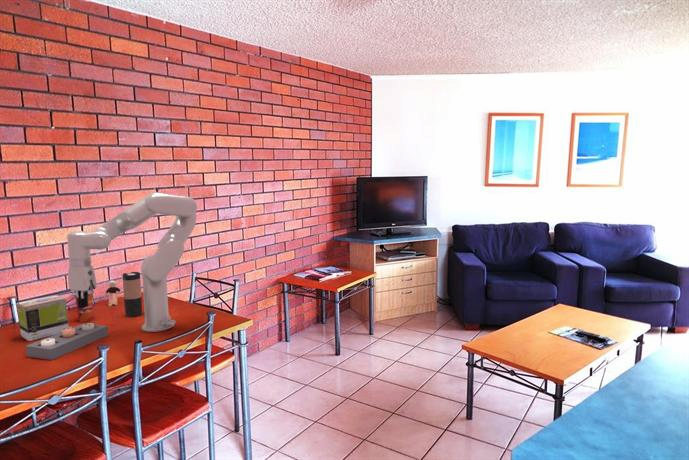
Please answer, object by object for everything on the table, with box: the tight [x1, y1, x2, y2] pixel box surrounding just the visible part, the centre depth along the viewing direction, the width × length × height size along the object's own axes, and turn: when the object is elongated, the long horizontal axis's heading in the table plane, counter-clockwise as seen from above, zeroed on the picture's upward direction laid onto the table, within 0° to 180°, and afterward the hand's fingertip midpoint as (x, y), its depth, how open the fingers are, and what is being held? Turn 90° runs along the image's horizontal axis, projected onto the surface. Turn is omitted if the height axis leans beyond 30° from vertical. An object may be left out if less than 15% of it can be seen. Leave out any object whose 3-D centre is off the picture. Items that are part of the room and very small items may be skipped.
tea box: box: [16, 294, 70, 342], centre depth 191 cm, size 15×10×15 cm
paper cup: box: [73, 292, 94, 323], centre depth 210 cm, size 8×8×14 cm
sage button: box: [81, 322, 95, 331], centre depth 187 cm, size 4×4×4 cm
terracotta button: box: [62, 326, 76, 339], centre depth 179 cm, size 4×4×4 cm
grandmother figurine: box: [104, 280, 122, 307], centre depth 233 cm, size 8×4×13 cm, turn 132°
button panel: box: [25, 323, 109, 361], centre depth 179 cm, size 12×26×4 cm, turn 163°
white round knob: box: [41, 338, 55, 347], centre depth 170 cm, size 4×4×4 cm
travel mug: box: [122, 271, 143, 318], centre depth 216 cm, size 8×8×20 cm
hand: (83, 307), depth 185 cm, fingers closed
